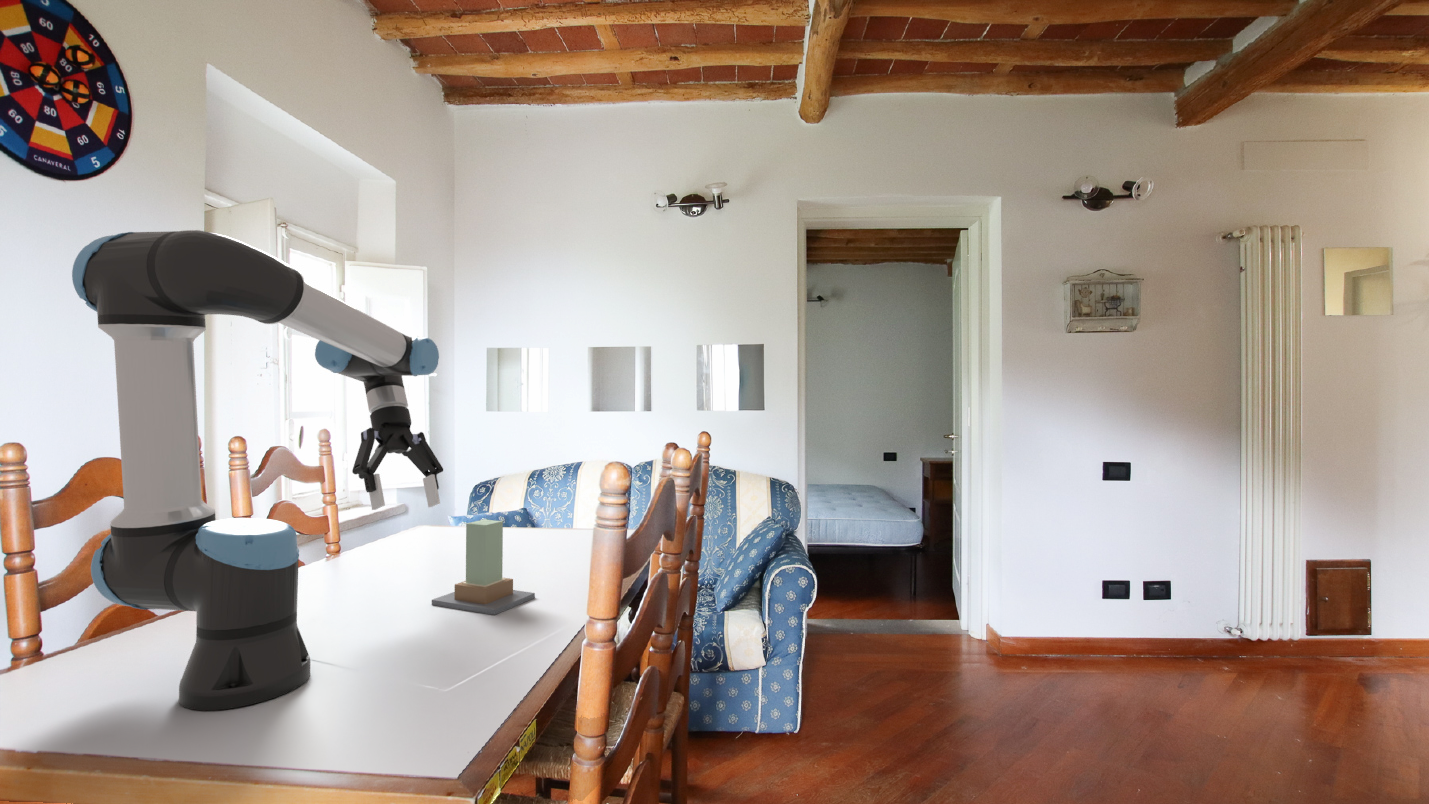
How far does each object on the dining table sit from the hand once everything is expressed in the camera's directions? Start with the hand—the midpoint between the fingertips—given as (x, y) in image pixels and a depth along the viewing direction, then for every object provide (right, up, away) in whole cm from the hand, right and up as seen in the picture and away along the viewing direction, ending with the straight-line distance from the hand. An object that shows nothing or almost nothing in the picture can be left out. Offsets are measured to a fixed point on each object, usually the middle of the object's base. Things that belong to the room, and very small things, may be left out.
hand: (407, 506), depth 130 cm
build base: (+16, -19, 0) cm, 25 cm away
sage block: (+16, -15, 0) cm, 22 cm away
